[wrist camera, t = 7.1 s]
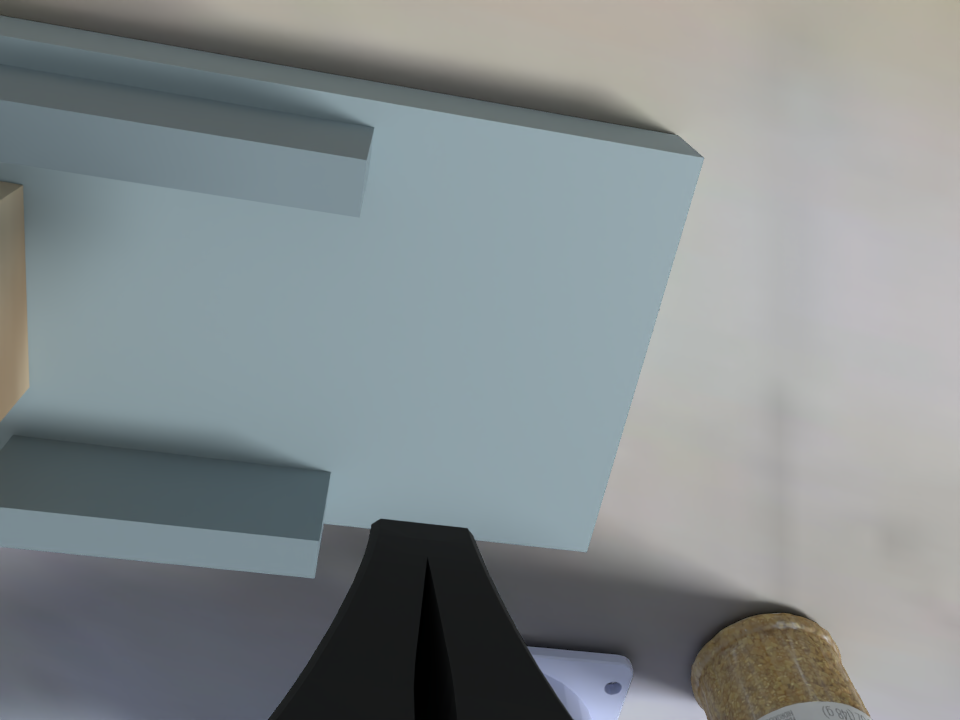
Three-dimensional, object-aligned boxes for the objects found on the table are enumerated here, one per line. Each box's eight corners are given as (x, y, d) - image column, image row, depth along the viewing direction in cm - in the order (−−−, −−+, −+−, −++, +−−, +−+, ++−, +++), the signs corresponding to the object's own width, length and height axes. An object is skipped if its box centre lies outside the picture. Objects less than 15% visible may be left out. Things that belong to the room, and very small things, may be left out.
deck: (574, 503, 23) (605, 625, 19) (-470, 382, 20) (-692, 498, 16) (678, 135, 19) (745, 193, 15) (-637, -98, 16) (-999, -103, 12)
